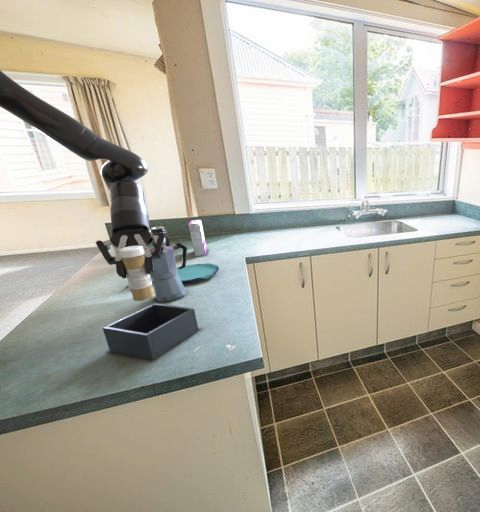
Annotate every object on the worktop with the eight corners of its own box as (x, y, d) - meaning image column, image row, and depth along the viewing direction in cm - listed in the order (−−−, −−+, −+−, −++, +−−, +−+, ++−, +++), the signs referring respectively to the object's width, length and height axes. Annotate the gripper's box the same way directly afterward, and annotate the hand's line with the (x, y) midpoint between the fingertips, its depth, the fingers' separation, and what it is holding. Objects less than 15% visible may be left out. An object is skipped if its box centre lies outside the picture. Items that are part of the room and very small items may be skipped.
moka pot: (140, 301, 100) (124, 245, 94) (185, 285, 113) (174, 234, 107) (156, 307, 96) (141, 249, 90) (202, 290, 109) (191, 237, 103)
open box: (153, 359, 71) (146, 335, 69) (109, 351, 74) (102, 328, 72) (198, 329, 84) (194, 308, 82) (160, 323, 87) (154, 303, 85)
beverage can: (167, 251, 155) (162, 228, 151) (152, 252, 153) (147, 229, 149) (173, 247, 161) (168, 226, 157) (158, 248, 159) (153, 226, 156)
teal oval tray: (215, 282, 116) (214, 276, 116) (122, 292, 107) (120, 286, 106) (223, 265, 134) (222, 261, 134) (144, 273, 125) (143, 268, 124)
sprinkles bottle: (138, 294, 77) (124, 245, 73) (158, 293, 78) (146, 244, 74) (129, 302, 73) (113, 251, 68) (150, 300, 74) (136, 249, 70)
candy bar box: (196, 250, 156) (190, 220, 151) (207, 249, 158) (201, 219, 153) (194, 256, 146) (187, 224, 141) (205, 255, 148) (199, 223, 143)
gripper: (87, 211, 71) (90, 274, 65) (160, 206, 78) (169, 262, 72) (98, 228, 77) (102, 287, 71) (166, 222, 84) (174, 275, 78)
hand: (136, 274), depth 72 cm, fingers closed on sprinkles bottle, 4 cm apart
